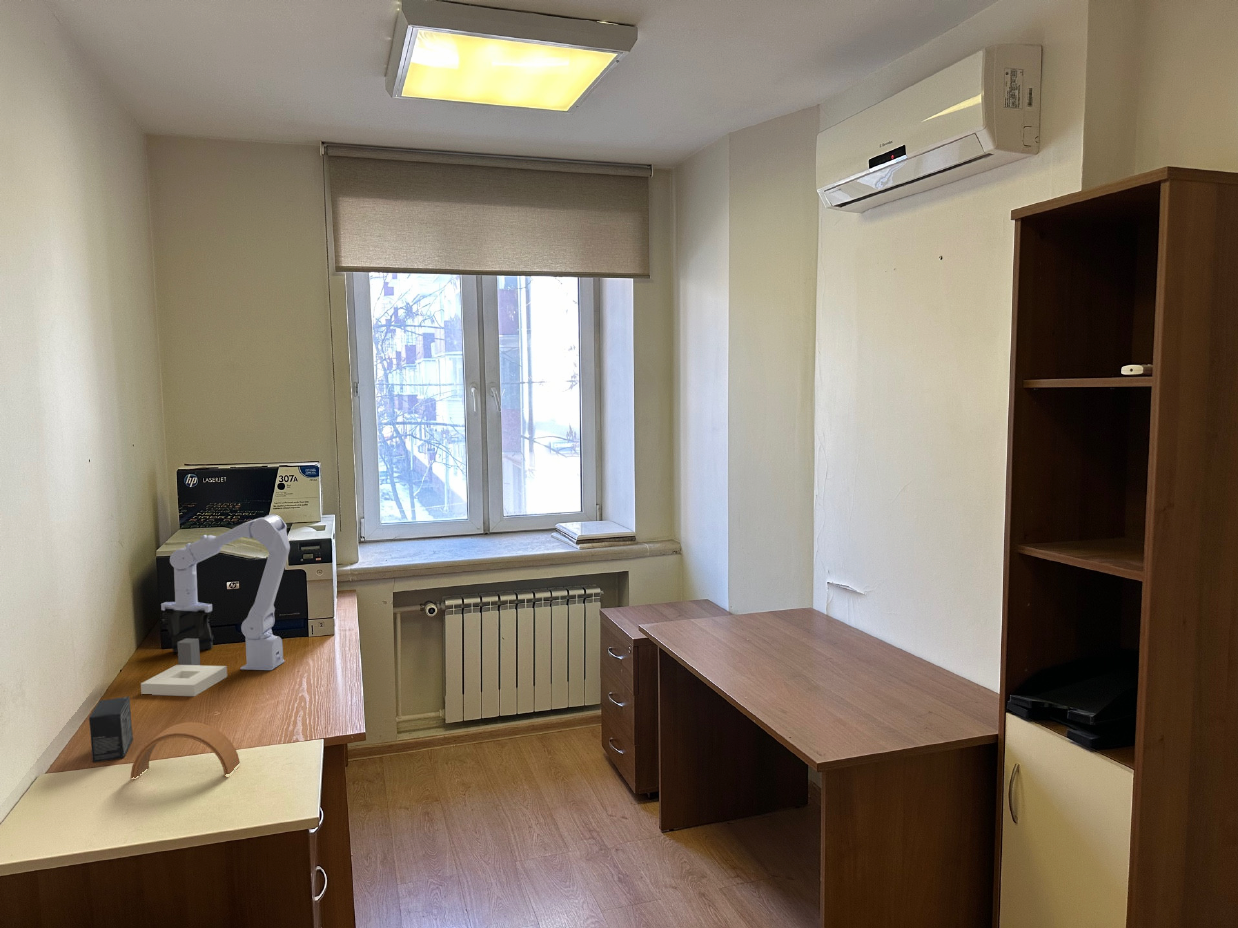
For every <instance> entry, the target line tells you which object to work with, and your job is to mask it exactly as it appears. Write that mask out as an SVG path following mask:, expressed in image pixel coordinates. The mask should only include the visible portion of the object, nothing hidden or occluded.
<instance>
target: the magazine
mask: <svg viewBox="0 0 1238 928" xmlns="http://www.w3.org/2000/svg"><path fill="white" fill-rule="evenodd" d="M194 613H198V611H182V610H181V612H180V618H179V634H177V635H174V636H173V635H172V633H171V630H170V627H169V625H168V623H167V621H166V619H163V618H162V620H161V621H162V623H163V624H162V626H163V627H166V629H167V631H168V633H169V635H168V638H169V639H170V638H171V644H172V645H171V646H170V647H171V650H172V652H174V653H173V654H176V653H177V652H178V646H177V642H179V641H181V640H184V639H186V638H191V639H199V651H205V650H204V649H209V650H212V648H213V645H214V643H213V640H214V634H212V629H211V626H210V623H208V622H210V618H209V619H208V620H207V622H206V625H205V629H204V633H203V635H202V636H200V637H197V635H196V625H195V620H194V617H193V614H194ZM175 652H176V653H175ZM177 654H178V653H177Z"/></svg>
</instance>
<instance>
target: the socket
mask: <svg viewBox="0 0 1238 928" xmlns="http://www.w3.org/2000/svg"><path fill="white" fill-rule="evenodd" d="M227 677H228V666H227V665H202V664H200V665H179V664H175V665H173V666H171V667H170V668H168V669H166V670H164V671H162V672H160V673H158V674H156V675H154V676H152V677H150V678H148V679H147V680H145V681H143V682H141V683H140V693H141V695H142V694H152V695H151V696H176V697H177V696H178V697H196V696H198V695H199V694H201V693H203V692H204V691H207V690H208V689H209V688H210V687H212V686H214V685H215V684H217V683H219V682H221V681H223V680H224V679H226V678H227Z"/></svg>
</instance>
